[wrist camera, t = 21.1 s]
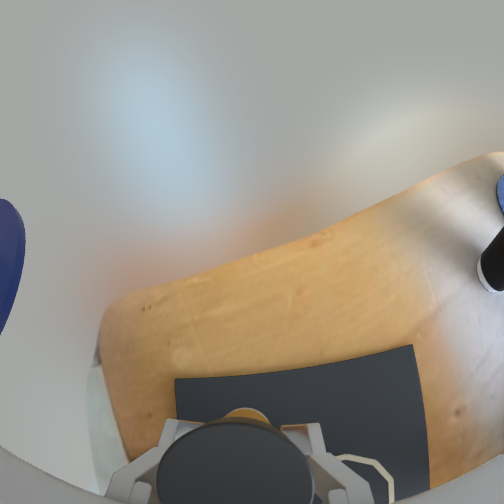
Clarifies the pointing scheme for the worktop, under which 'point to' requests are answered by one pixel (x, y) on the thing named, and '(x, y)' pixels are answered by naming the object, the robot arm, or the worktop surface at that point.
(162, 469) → the marker
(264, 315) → the worktop surface
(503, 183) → the water jug
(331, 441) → the board
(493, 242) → the dixie cup
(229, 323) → the worktop surface
